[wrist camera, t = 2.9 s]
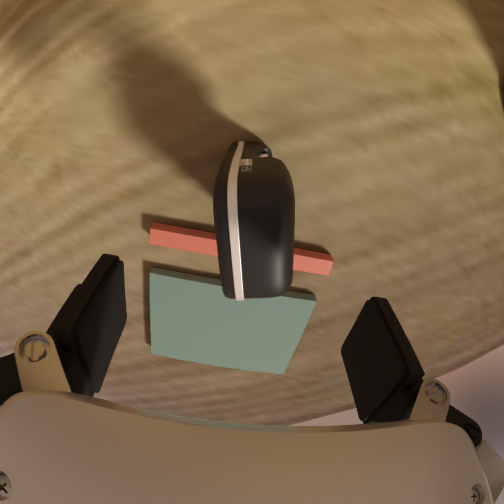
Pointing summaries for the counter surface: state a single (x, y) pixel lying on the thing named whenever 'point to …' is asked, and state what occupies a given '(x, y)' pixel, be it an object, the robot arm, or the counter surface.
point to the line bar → (208, 245)
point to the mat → (224, 323)
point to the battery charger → (254, 223)
